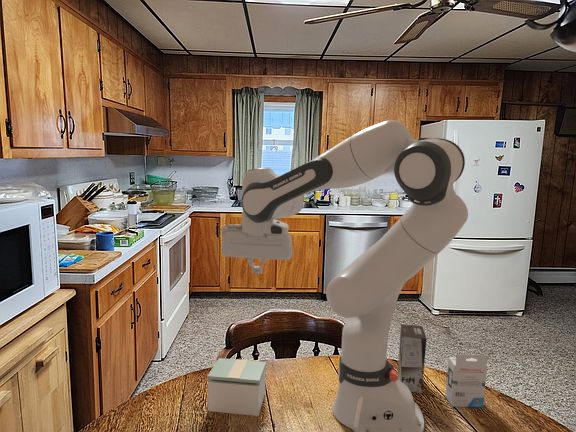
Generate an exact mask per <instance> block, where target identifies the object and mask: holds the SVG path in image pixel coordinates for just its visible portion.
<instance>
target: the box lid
mask: <svg viewBox="0 0 576 432" xmlns="http://www.w3.org/2000/svg"><path fill="white" fill-rule="evenodd" d="M265 367H266V368H267V361H258V360H249V359H240V358H237V359H234V358H221V357H219V358H218V359H217V360H216V361H215V363H214V365H213V367H212V368H211V370H210V371H209V373H208V375H207V377H206V379H207V380H209V379H212V380H223V381H235V382H246V383H258V384H259V383H260V380H261V378H262V375H263V372H264V369H265Z"/></svg>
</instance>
